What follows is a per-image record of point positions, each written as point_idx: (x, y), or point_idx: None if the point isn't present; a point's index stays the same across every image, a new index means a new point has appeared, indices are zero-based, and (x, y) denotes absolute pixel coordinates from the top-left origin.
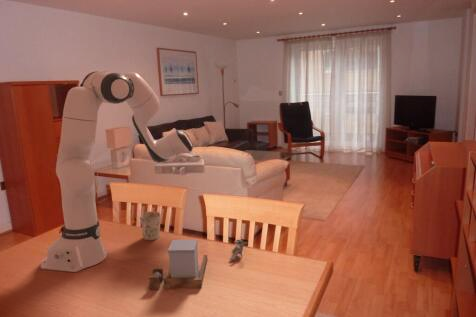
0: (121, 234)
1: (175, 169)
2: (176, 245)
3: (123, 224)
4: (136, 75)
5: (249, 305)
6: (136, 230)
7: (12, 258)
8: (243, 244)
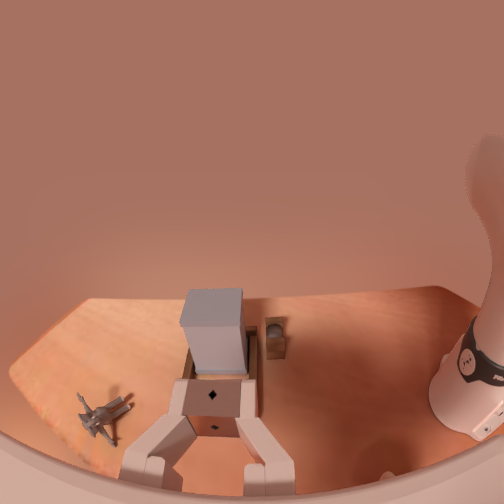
0: None
1: (231, 404)
2: (226, 301)
3: None
4: None
5: (136, 308)
6: None
7: None
8: (85, 403)
